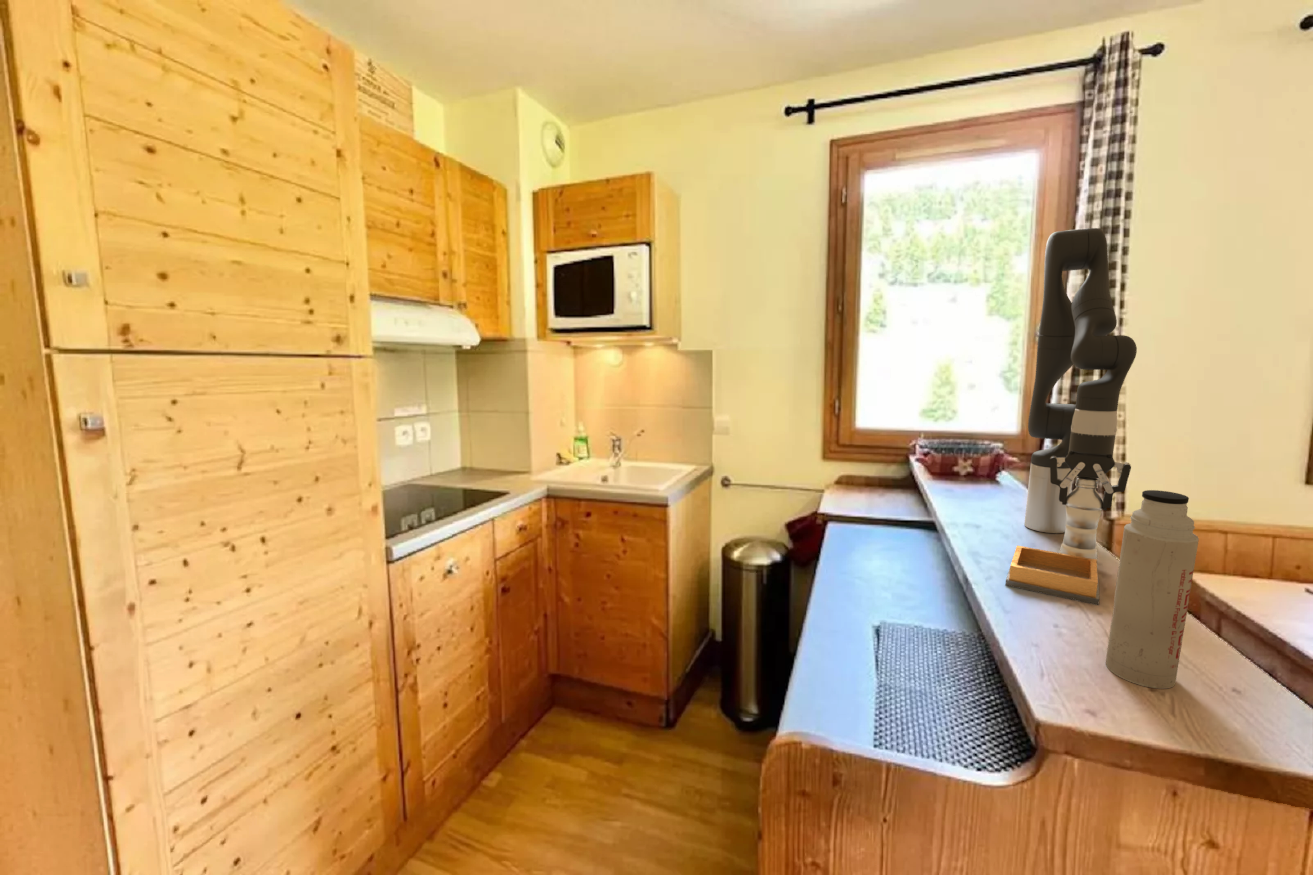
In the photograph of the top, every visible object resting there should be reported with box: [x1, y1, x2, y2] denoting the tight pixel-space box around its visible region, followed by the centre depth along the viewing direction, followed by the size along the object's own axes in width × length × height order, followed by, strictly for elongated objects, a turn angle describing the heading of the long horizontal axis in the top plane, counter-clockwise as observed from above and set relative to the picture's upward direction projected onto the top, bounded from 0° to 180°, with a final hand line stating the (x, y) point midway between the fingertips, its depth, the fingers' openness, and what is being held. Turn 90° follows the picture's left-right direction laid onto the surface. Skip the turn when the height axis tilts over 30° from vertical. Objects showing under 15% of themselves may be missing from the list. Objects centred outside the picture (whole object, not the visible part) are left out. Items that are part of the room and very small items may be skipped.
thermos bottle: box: [1105, 489, 1200, 690], centre depth 81 cm, size 8×8×28 cm
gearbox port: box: [1005, 545, 1100, 606], centre depth 114 cm, size 15×15×4 cm
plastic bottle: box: [1059, 476, 1103, 560], centre depth 121 cm, size 6×7×20 cm
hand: (1083, 506), depth 120 cm, fingers closed on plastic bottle, 6 cm apart
